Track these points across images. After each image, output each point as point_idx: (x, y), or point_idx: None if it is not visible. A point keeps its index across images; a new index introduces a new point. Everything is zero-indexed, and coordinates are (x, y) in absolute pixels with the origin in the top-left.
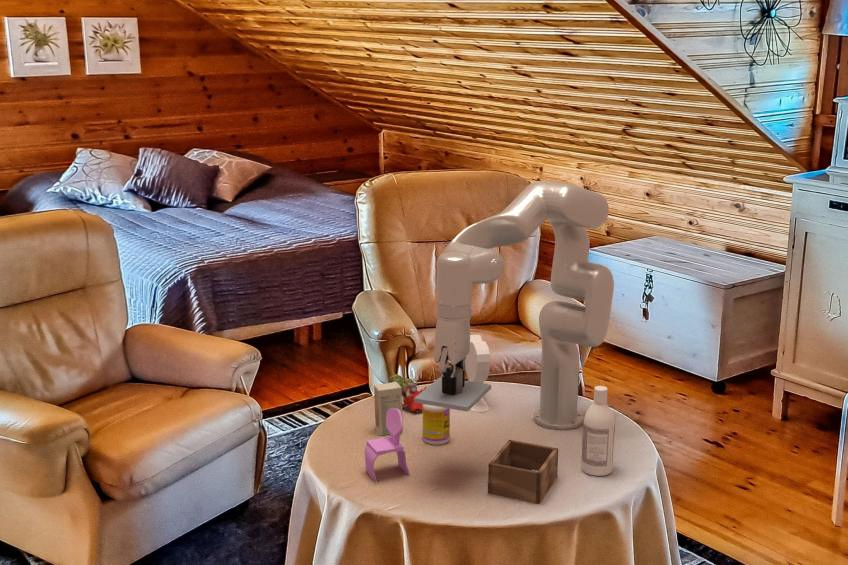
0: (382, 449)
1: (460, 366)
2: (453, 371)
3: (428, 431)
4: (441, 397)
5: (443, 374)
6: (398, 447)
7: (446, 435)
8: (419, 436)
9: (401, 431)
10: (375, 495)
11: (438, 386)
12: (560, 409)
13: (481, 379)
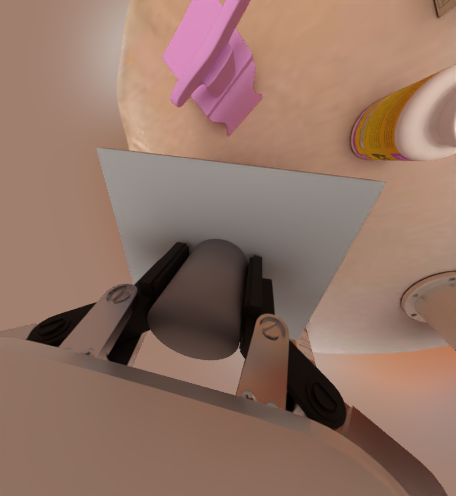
0: (177, 67)
1: (245, 357)
2: (112, 354)
3: (368, 117)
4: (156, 242)
5: (91, 308)
6: (199, 106)
7: (366, 157)
8: (403, 82)
9: (439, 12)
10: (154, 105)
11: (248, 208)
12: (433, 319)
13: None
